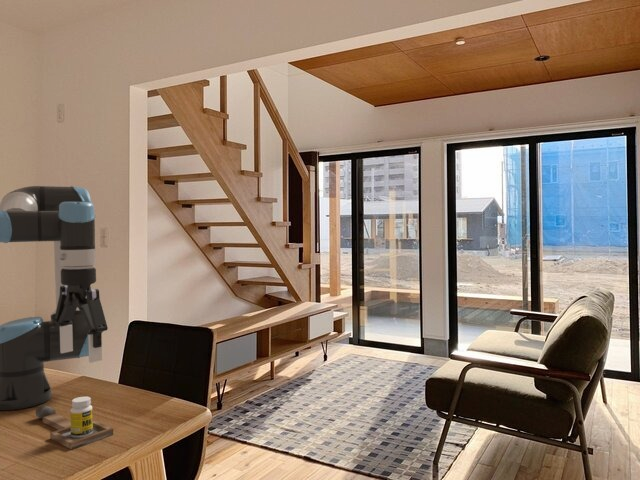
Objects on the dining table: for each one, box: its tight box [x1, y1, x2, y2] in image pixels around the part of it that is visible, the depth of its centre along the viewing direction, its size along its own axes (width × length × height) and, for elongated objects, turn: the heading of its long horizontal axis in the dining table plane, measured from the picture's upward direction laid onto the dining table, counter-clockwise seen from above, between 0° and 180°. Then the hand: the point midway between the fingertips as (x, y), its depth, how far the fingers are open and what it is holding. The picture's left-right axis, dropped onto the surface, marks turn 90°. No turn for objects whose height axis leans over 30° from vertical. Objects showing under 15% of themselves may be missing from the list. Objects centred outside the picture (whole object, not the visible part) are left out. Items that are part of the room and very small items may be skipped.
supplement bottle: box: [69, 396, 94, 438], centre depth 118 cm, size 5×5×8 cm
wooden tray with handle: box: [35, 404, 114, 450], centre depth 123 cm, size 26×10×3 cm, turn 53°
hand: (80, 356), depth 119 cm, fingers open, 13 cm apart
